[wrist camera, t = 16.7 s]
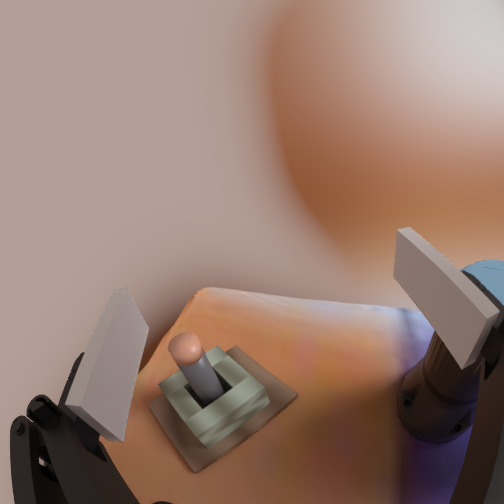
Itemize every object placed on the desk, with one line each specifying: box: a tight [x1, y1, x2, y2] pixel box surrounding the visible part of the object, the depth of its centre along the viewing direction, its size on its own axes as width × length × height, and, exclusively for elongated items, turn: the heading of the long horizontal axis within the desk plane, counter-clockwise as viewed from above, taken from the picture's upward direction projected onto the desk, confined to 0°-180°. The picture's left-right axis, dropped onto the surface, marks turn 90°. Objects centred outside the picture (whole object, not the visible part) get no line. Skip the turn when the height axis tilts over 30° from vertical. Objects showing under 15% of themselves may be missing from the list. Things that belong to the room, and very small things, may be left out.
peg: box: [168, 333, 226, 407], centre depth 36 cm, size 4×4×15 cm
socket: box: [148, 346, 298, 473], centre depth 38 cm, size 20×16×6 cm
